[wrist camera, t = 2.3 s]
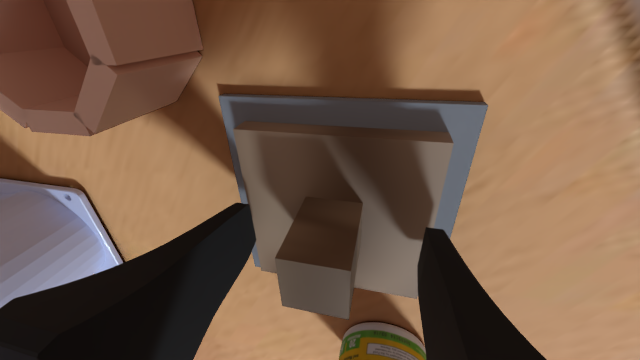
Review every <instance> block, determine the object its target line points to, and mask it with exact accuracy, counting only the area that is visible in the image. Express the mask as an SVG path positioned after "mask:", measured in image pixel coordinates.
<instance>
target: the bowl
mask: <svg viewBox="0 0 640 360" xmlns="http://www.w3.org/2000/svg"><path fill="white" fill-rule="evenodd" d="M197 50H203V46H202V42H201V37H200V33H199V28H198V24H197V19H196V15H195V11H194V6H193V2H192V0H0V110H2V111H3V112H4V113H6V114H7V115H8V116H10V117H11V118H12V119H13V120H15V121H16V122H17V123H19V124H20V125H21V126H23V127H24V128H27V127H30V129H31V131H32V132H44V133H57V134H70V135H82V136H92V135H94V134H97V133H99V132H102V131H104V130H107V129H109V128H112V127H114V126H117V125H119V124H122V123H124V122H127V121H129V120H132V119H134V118H137V117H139V116H142V115H144V114H147V113H149V112H152V111H154V110H157V109H159V108H162V107H164V106H167V105H169V104H172V103H173V102H176V101H177V100H178V98H179V96H180V95H181V93H182V91H183V89H184V88H185V86H186V84H187V82H188V81H189V79H190V77H191V75H192V74H193V72H194V70H195V69H196V67H197V65H198V63H199V62H200V60H201V58H202V56H201V55H200V54H199V53H198V52H197Z"/></svg>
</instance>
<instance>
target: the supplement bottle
mask: <svg viewBox="0 0 640 360" xmlns="http://www.w3.org/2000/svg"><path fill="white" fill-rule="evenodd" d="M339 360H426V350H425V347H424V346H423V344H422V343H421V341H420V340H419V339H418V338H417V337H415V336H414V335H413V334H412V333H410V332H408V331H407V330H404V329H402V328H400V327H397V326H394V325H390V324H386V323H378V322H368V323H361V324H357V325H355V326H353V327H351V328H350V329H348V330H347V331H346V333H345V334H344V337H343V340H342V345H341V350H340V356H339Z"/></svg>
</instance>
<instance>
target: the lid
mask: <svg viewBox="0 0 640 360" xmlns="http://www.w3.org/2000/svg"><path fill="white" fill-rule="evenodd" d="M233 132H234V137H235V142H236V147H237V152H238V157H239V162H240V167H241V172H242V177H243V182H244V187H245V192H246V197H247V202H248V204H249V205H250V210H251V215H252V220H253V225H254V230H255V235H256V246H257V251H258V256H259V261H260V266H261V271H267V272H272V273H277V276H278V282H279V288H280V294H281V301H282V306H285V307H290V308H295V309H300V310H305V311H309V312H314V313H319V314H324V315H328V316H333V317H338V318H343V319H348V320H349V315H350V309H351V302H352V296H353V290H354V288H360V289H365V290H371V291H376V292H382V293H387V294H393V295H398V296H404V297H409V298H414V299H417V296H418V280H417V265H418V261H419V256H420V251H421V247H422V242H423V238H424V233H425V229H426V227H428V228H434V224H435V220H436V216H437V212H438V207H439V203H440V199H441V195H442V191H443V187H444V182H445V178H446V174H447V170H448V166H449V161H450V157H451V153H452V149H453V145H454V143H453V140H452V138H451V136H450V133H449V132H436V131H418V130H399V129H381V128H363V127H345V126H327V125H309V124H291V123H273V122H254V121H244V122H243V123H241V124H240V125H238V126H237V127H236V128H234V129H233Z"/></svg>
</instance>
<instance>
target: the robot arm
mask: <svg viewBox="0 0 640 360" xmlns="http://www.w3.org/2000/svg"><path fill="white" fill-rule="evenodd" d="M255 242H256V235H255V230H254V225H253V220H252V215H251V210H250V205H249V204H243V203H235V204H233V205H231V206H230V207H228V208H226V209H224V210H223V211H221V212H219V213H218V214H216V215H215V216H213V217H211V218H210V219H208V220H206V221H205V222H203V223H201V224H200V225H198V226H196V227H195V228H193V229H191V230H189V231H188V232H186V233H184V234H182V235H180V236H179V237H177V238H175V239H173V240H171V241H170V242H168V243H166V244H164V245H162V246H160V247H158V248H156V249H154V250H152V251H150V252H147V253H145V254H143V255H141V256H139V257H136V258H134V259H132V260H129V261H127V262H124V263H123V261H122V259H121V258H120V256H119V254H118V252H117V251H116V249H115V247H114V245H113V243H112V242H111V240H110V238H109V236H108V235H107V233H106V231H105V229H104V227H103V226H102V224H101V222H100V220H99V219H98V217H97V215H96V213H95V211H94V210H93V208H92V206H91V204H90V203H89V201H88V199H87V197H86V196H85V194H84V193H83V192H82V191H81V190H79V189H76V188H68V187H61V186H53V185H46V184H39V183H31V182H24V181H16V180H9V179H1V178H0V360H193V359H194V357H195V355H196V352H197V350H198V348H199V346H200V344H201V342H202V339H203V337H204V335H205V333H206V331H207V329H208V327H209V325H210V323H211V321H212V319H213V317H214V315H215V313H216V312H217V310H218V308H219V306H220V305H221V303H222V301H223V300H224V298H225V297H226V295H227V293H228V292H229V290H230V288H231V287H232V285H233V284H234V282H235V280H236V279H237V277H238V275H239V274H240V272H241V271H242V269H243V267H244V266H245V264H246V262H247V260H248V258H249V256H250V254H251V252H252V249H253V247H254V245H255ZM93 273H94V274H93ZM92 274H93V275H92ZM417 280H418V297H419V305H420V313H421V320H422V328H423V335H424V343H425V350H426V360H546V359H545V358H544V357H543V356H542V355H541V354H540V353H539V352H538V351H537V350H536V349H535V348H534V347H533V346H532V345H531V344H530V343H529V342H528V340H527V339H526V338H525V337H524V336H523V335H522V334H521V333H520V332H519V331H518V330H517V329H516V327H515V326H514V325H513V324H512V323H511V322H510V321H509V320H508V318H507V317H506V316H505V315H504V314H503V313H502V311H501V310H500V309H499V308H498V307H497V305H496V304H495V303H494V302H493V300H492V299H491V298H490V297H489V295H488V294H487V293H486V291H485V290H484V289H483V288H482V286H481V285H480V284H479V282H478V281H477V279H476V278H475V277H474V275H473V274H472V272H471V271H470V270H469V268H468V267H467V265H466V264H465V262H464V261H463V259H462V258H461V256H460V255H459V253H458V252H457V250H456V248H455V247H454V245H453V244H452V242H451V240H450V239H449V237H448V235H447V234H446V232H445V231H444V230H443V229H436V228H428V227H426V229H425V233H424V238H423V242H422V247H421V251H420V256H419V261H418V265H417Z"/></svg>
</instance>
